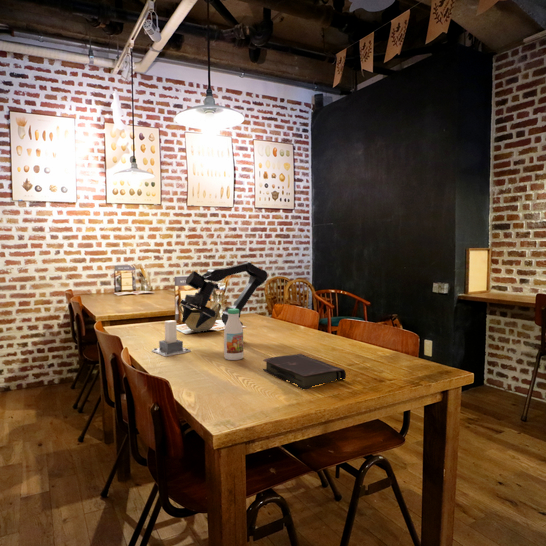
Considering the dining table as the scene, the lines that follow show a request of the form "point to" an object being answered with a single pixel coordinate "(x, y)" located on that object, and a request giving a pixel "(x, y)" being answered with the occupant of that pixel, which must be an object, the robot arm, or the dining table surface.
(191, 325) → the ceramic bowl
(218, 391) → the dining table surface
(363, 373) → the dining table surface
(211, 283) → the robot arm
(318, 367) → the diary
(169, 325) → the rail post
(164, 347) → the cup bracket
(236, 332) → the milk bottle
